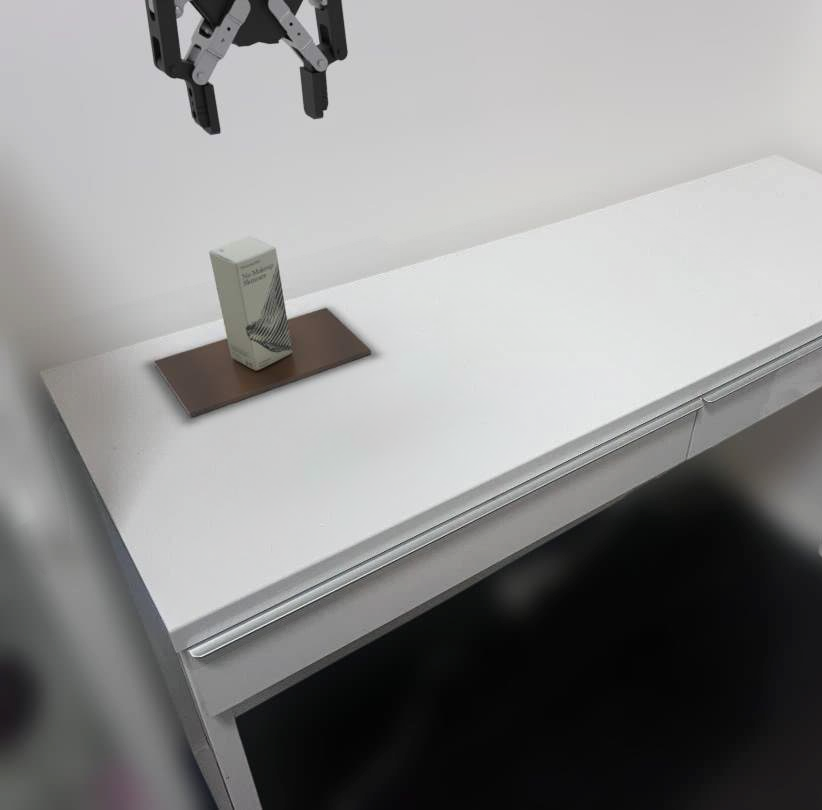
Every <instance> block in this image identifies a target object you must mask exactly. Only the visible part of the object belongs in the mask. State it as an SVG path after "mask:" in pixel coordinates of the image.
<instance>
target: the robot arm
mask: <svg viewBox="0 0 822 810" xmlns="http://www.w3.org/2000/svg"><path fill="white" fill-rule="evenodd" d="M307 1H308V4H309V5H310V6H311V7H313V8H314V15H315V22H316V28H317V35H318V44H316V43H315V42H314V39H313V38H312V36H311V34H309V32H308V31H307V30H306V28H305V27H304V26H303V25H302V23H301V22H300V20H298V18H297V17H296V16H297V13H298V12H299V9H300V7H301V6H302V4H303V2H304V0H144V3H145V11H146V18H147V24H148V33H149V39H150V46H151V47H150V48H151V54H152V61H153V65H154V66H155V68H156V69H157V70H159V71H160V72H163V73H164V74H165V75H166V76H167V77H169V78H170V79H179V80H181V81H182V80H183V81H184V82H185V85H186V92H187V97H188V102H189V108H190V115H191V118H192V119H193V121H194V123H195V124H196V125H198V126H199V127H201V128H202V130H203V131H204V132H206V133H207V134H208V135H210V136H213V135H214V136H215V135H220V134H221V132H222V130H221V123H220V118H219V112H218V111H219V110H218V104H217V99H216V93H215V87H214V84H213V83H211V82H209V80H210V78H211V76H212V75H213V73H214V70H215V69H216V67H217V65H218V63H219V61H221V60H223V59H224V57H225V56H226V54H227V52H228V50H229V48H230V47H231V45H235V46H236V47H238V48H241V47H242V48H243V47H251V46H253V45H255V44H258V43H261V44H266V45H276V44H277V45H278V44H280V40H281V41H283V42H284V43H285V44H286V45H287V46H288V47H289V48H290V49H291V51H292V52H293V53H294V54H295V55H296V57H297V58H298V59H299V60H300V62H301V63H302V64H303V66H302V65H301V66H299V75H300V85H301V95H302V96H301V97H302V105H303V111H304V113H305V115H306V116H307V117H309V118H311V119H313V120H320V119H323V118H324V111H327V110H328V107H329V97H328V96H329V92H328V83H327V82H328V81H327V70H328V68H329V66H330V65H332V64H333V63H335V62H337V61H341V62H342V61H344V60H346V58H347V57H348V54H349V53H348V52H349V51H348V42H347V35H346V25H345V17H344V9H343V1H342V0H307ZM188 2H189V4H190V5H191V6H192V7H193V8H194V9H195V10H196V11H197V12H198V13H199V15H200V17H201V18H200V20H199V22H198V24H197V25H196V28H195V29H194V32H193V34H192V36H191V38H190V39H191V43H190V46H189V48H188V50H187V52H186V54H185V55H184V57H183V58H182V54H181V53H182V52H181V45H180V35H179V28H178V19H179V18H181V17H182V16H183V14H184V9H185V5H186V4H187V3H188Z"/></svg>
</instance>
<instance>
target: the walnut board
mask: <svg viewBox="0 0 822 810" xmlns="http://www.w3.org/2000/svg"><path fill="white" fill-rule="evenodd" d="M287 322H288V328H289V333H290V340H291V346H292V353H291V354H289V355H288V356H286V357H284V358H282V359H280V360H278V361H276V362H274V363H272V364H270V365H268V366H266V367H264V368H262V369H260V370H257V371H255V370H253V369H251V368H250V367H248V366H246V365H244V364H242V363H240V362H239V361H237V360H235V359H233V358H232V357H231V353H230V349H229V344H228V340H227V338H224V339H220V340H217V341H214V342H211V343H207V344H204V345H202V346H198V347H195V348H192V349H188V350H185V351H181V352H179V353H175V354H173V355H169V356H166V357H162V358H159V359H156V360H154V361H153V363H154V365H155V367H156V368H157V370H158V372H159V373H160V374H161V376H162V377H163V379H164V380H165V382H166V384H167V385H168V386H169V388H170V389H171V391H172V392H173V394H174V395H175V397H176V398H177V399H178V401H179V403H180V404H181V406H182V407H183V408H184V410H185V412H186V413H187V415H188V416H189V418H194V417H197V416H199V415H202V414H206V413H208V412H210V411H213V410H216V409H220V408H222V407H226V406H227V405H230V404H233V403H236V402H239V401H242V400H245V399H247V398H248V399H249V398H251V397H254V396H255V395H256V396H257V395H260V394H262V393H265V392H268V391H270V390H273V389H276V388H279V387H283V386H284V385H288V384H290V383H293V382H295V381H299V380H301V379H305V378H307V377H310V376H313V375H315V374H316V375H317V374H318V373H321V372H324V371H327V370H330V369H333V368H335V367H338V366H342V365H344V364H347V363H350V362H353V361H356V360H359V359H361V358H364V357H367V356H369V355H372V350H371V348H369V347H368V346H367V345H366V344H365V343H364V342H363V341H362V340H361V339H360V338H359V337H358V336H357V335H356V334H355V333H353V331H351V330H350V328H349V327H347V325H345V323H343V321H341V320H340V319H339V318H338V317H337V316H336V315H335V314H334V313H333V312H332V311H330V310H329V308H327V307H323V308H320V309H318V310H315V311H311V312H308V313H305V314H302V315H298V316H294V317H292V318H287Z"/></svg>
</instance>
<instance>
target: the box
mask: <svg viewBox="0 0 822 810" xmlns="http://www.w3.org/2000/svg"><path fill="white" fill-rule="evenodd" d="M208 254H209V258H210V264H211V267H212V272H213V277H214V281H215V287H216V291H217V292H216V293H217V297H218V301H219V307H220V311H221V314H222V320H223V324H224V330H225V334H226V339H227V340H228V344H229V349H230V353H231V357H232V358H233V359H235V360H237V361H239V362H240V363H242V364H244V365H246V366H248V367H250V368H251V369H253V370H255V371H257V370H260V369H262V368H264V367H266V366H268V365H270V364H272V363H274V362H276V361H278V360H280V359H282V358H284V357H286V356H288V355H289V354H291V353H292V346H291V340H290V333H289V328H288V322H287V320H288V316H287V309H286V303H285V298H284V291H283V285H282V278H281V273H280V267H279V260H278V254H277V247H276V246H273V245H272V244H269V243H267V242H265V241H263V240H262V239H259V238H256V237H254V236H252V235H247V236H244V237H242V238H239V239H237V240H233V241H230V242H227V243H225V244H224V245H220V246H219V247H216V248H213V249H210V250H209V251H208Z"/></svg>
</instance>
